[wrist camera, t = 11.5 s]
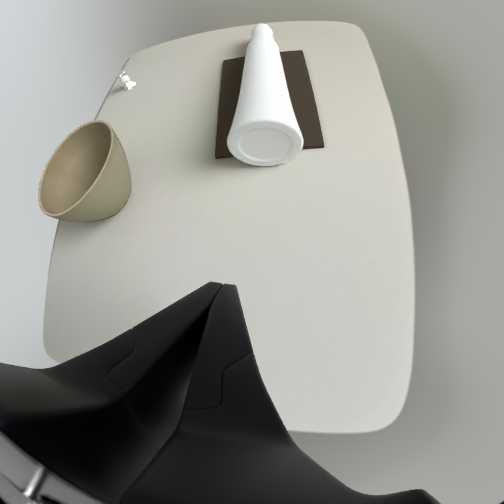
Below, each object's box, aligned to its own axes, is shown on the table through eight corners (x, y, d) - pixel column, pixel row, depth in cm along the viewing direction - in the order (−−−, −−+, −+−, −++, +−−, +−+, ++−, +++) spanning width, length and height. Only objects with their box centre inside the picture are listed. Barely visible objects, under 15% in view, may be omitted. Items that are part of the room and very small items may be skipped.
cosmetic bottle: (303, 165, 23) (286, 45, 30) (304, 117, 17) (283, 10, 24) (234, 169, 24) (242, 48, 30) (218, 123, 18) (235, 14, 25)
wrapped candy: (130, 82, 32) (121, 69, 29) (135, 83, 32) (126, 70, 29) (123, 89, 32) (114, 76, 29) (129, 90, 31) (119, 77, 29)
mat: (323, 147, 23) (324, 145, 22) (216, 158, 25) (214, 156, 24) (302, 52, 27) (302, 50, 27) (224, 62, 29) (223, 60, 28)
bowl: (111, 258, 24) (59, 237, 18) (71, 213, 27) (29, 190, 21) (169, 174, 25) (131, 132, 19) (118, 145, 28) (84, 111, 22)
